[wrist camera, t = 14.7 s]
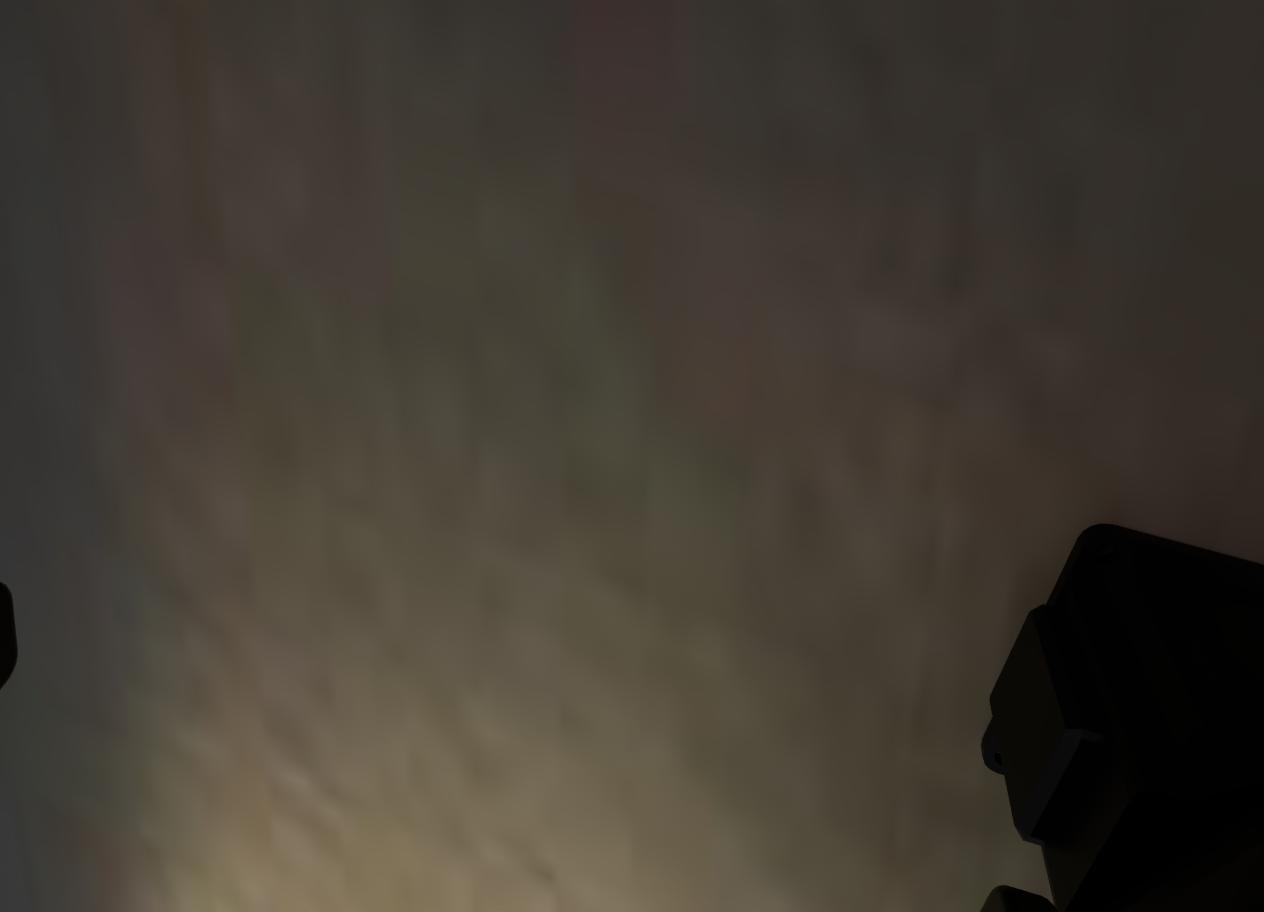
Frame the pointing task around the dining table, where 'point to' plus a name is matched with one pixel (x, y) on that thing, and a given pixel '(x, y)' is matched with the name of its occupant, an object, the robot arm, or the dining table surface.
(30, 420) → the dining table surface
